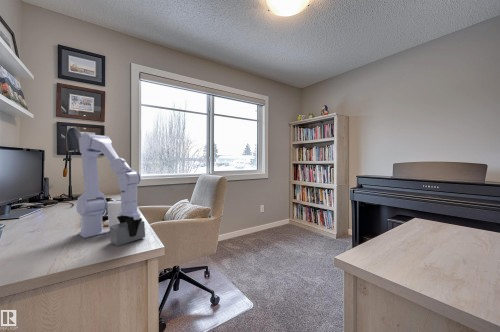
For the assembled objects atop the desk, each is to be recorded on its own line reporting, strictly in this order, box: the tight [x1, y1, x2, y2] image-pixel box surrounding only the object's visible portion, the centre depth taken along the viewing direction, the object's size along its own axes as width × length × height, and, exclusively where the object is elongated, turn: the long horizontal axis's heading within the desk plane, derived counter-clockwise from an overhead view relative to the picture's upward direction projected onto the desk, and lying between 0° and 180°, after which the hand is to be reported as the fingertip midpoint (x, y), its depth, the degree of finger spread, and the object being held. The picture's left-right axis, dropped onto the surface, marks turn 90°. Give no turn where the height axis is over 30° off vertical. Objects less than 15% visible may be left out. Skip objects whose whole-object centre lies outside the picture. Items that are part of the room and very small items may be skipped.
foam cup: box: [106, 200, 121, 232], centre depth 99 cm, size 10×9×13 cm
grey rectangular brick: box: [109, 220, 146, 247], centre depth 85 cm, size 6×11×7 cm, turn 141°
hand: (129, 234), depth 86 cm, fingers closed on grey rectangular brick, 6 cm apart
